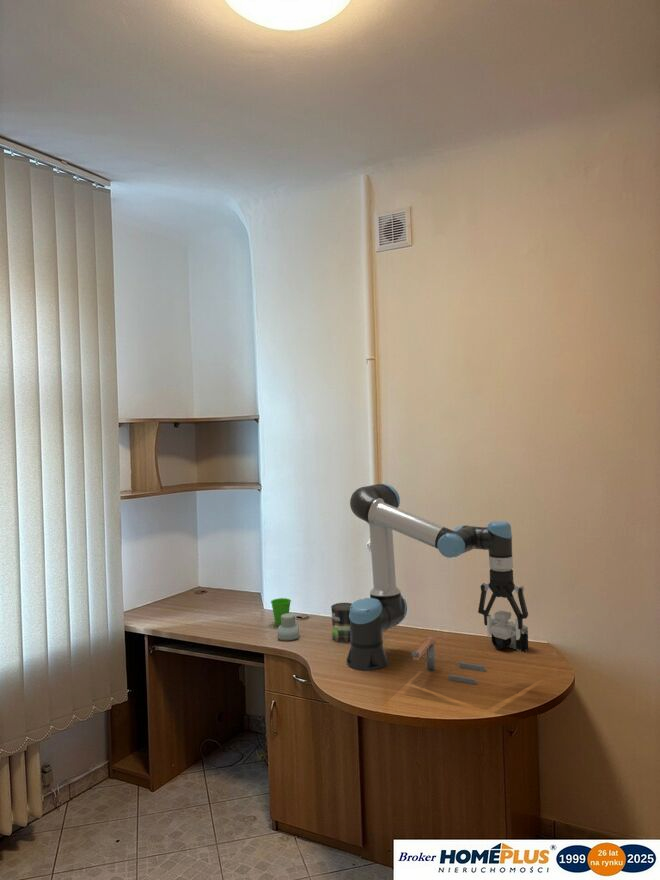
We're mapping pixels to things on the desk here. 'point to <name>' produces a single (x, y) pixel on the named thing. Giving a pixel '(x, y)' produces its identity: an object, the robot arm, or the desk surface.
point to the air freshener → (288, 628)
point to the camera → (511, 638)
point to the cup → (280, 608)
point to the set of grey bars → (462, 665)
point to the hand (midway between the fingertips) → (503, 636)
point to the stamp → (503, 626)
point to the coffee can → (341, 622)
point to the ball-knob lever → (423, 647)
